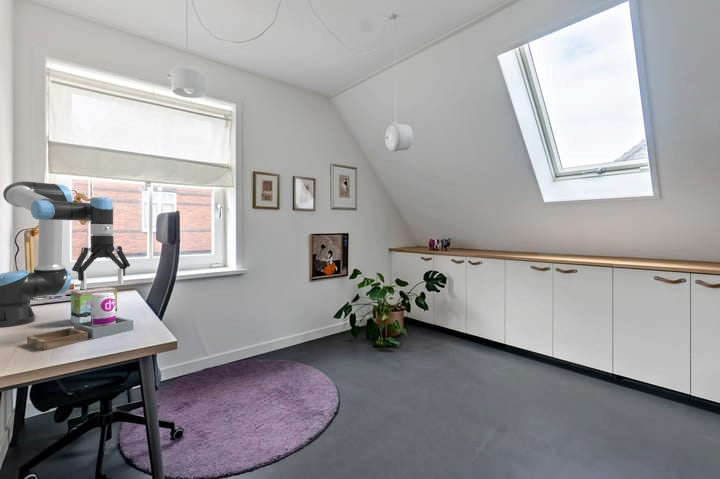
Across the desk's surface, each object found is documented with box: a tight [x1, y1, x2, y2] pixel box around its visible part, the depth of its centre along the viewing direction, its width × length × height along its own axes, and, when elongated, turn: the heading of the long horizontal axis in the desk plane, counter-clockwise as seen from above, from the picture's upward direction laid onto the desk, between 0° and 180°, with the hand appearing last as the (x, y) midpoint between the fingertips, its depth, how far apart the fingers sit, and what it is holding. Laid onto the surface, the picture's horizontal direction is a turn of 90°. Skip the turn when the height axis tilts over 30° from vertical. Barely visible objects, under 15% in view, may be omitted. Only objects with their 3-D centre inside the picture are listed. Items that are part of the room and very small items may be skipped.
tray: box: [73, 316, 134, 340], centre depth 145 cm, size 15×15×4 cm
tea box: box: [70, 286, 118, 325], centre depth 163 cm, size 15×10×15 cm, turn 148°
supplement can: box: [91, 292, 116, 328], centre depth 145 cm, size 8×8×15 cm
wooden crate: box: [26, 327, 89, 351], centre depth 131 cm, size 13×13×3 cm
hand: (102, 286), depth 145 cm, fingers open, 13 cm apart
